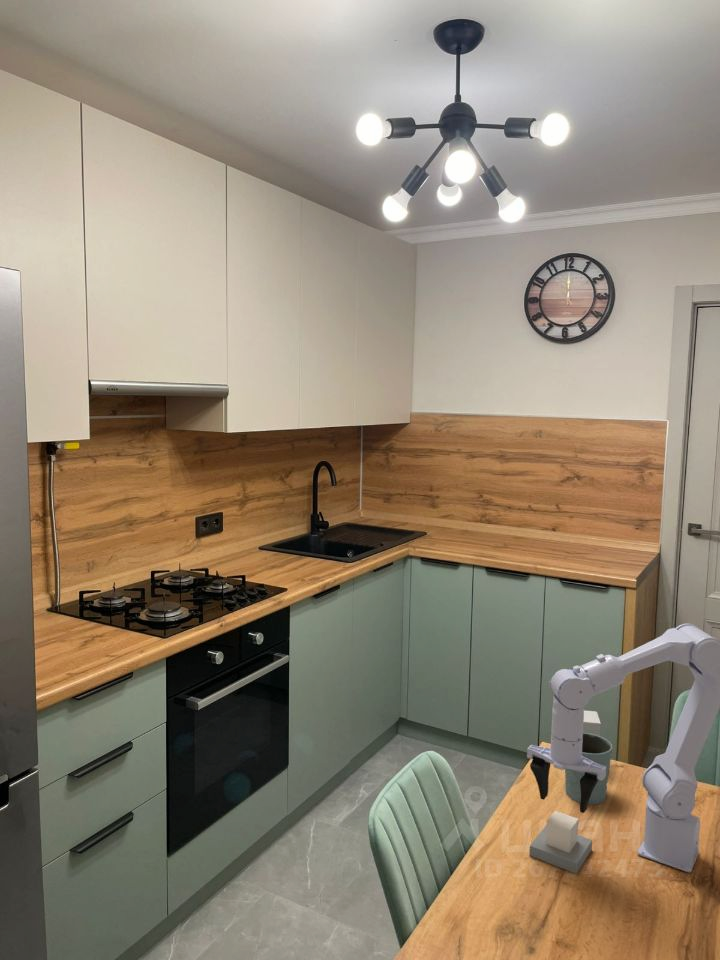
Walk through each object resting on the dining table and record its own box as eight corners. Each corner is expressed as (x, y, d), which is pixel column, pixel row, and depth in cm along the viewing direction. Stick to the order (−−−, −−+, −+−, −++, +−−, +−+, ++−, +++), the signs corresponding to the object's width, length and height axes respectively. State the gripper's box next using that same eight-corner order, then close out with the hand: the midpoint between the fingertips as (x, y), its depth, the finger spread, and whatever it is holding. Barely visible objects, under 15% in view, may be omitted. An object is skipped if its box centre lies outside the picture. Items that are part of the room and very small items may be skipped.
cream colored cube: (577, 841, 139) (578, 818, 139) (569, 852, 135) (570, 829, 135) (554, 832, 142) (555, 810, 141) (545, 843, 138) (546, 821, 137)
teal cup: (607, 786, 164) (610, 735, 162) (612, 810, 154) (615, 756, 153) (560, 780, 166) (563, 729, 165) (562, 803, 156) (565, 750, 155)
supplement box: (598, 776, 168) (601, 723, 167) (565, 772, 170) (568, 720, 168) (594, 761, 175) (597, 710, 174) (563, 757, 177) (565, 707, 176)
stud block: (591, 849, 140) (592, 830, 139) (576, 873, 132) (577, 853, 132) (546, 833, 145) (547, 814, 144) (529, 855, 137) (530, 835, 137)
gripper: (522, 731, 137) (519, 800, 138) (599, 753, 129) (595, 826, 130) (536, 719, 143) (533, 784, 144) (610, 739, 135) (606, 809, 136)
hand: (563, 803), depth 138 cm, fingers open, 7 cm apart
